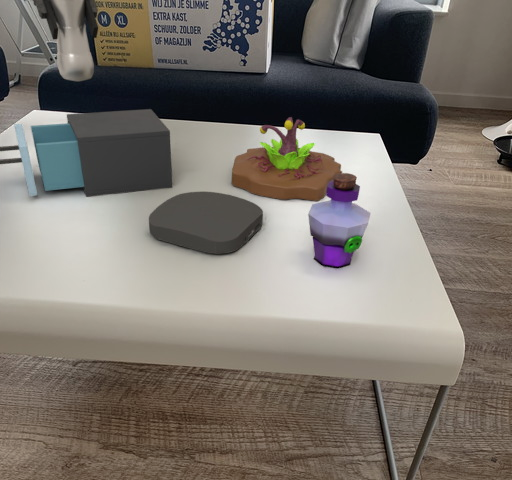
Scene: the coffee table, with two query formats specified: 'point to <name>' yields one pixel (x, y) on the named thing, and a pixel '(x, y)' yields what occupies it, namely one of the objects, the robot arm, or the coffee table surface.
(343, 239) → the potion bottle
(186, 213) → the media streaming box
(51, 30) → the robot arm
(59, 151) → the drawer
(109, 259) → the coffee table surface
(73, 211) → the coffee table surface
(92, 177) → the cabinet
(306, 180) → the plant
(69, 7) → the plastic bottle
